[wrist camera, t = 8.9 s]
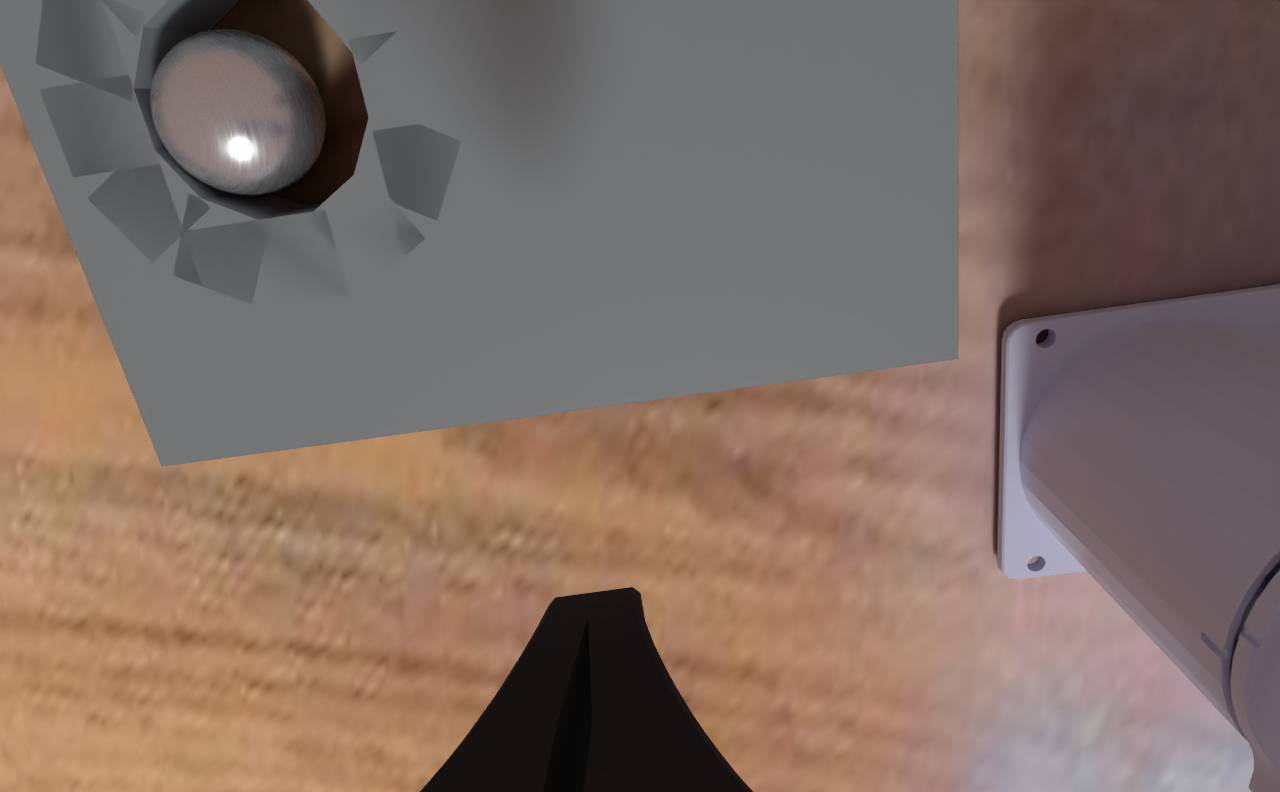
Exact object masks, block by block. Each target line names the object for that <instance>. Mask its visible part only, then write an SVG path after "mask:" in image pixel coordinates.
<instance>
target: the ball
mask: <svg viewBox="0 0 1280 792" xmlns="http://www.w3.org/2000/svg"><path fill="white" fill-rule="evenodd" d="M150 105H151V114H152V119H153V122H154V125H155V128H156V131H157V133H158V135H159V137H160V140H161V141H162V143H163V145H164V146H165V148H166V149H167V151H168V152H169V154H170V155H171V156H172V157H173V158H174V159H175V160H176V162H177V163H178V164H179V165H180V166H181V167H182V168H183V169H185V170H186V171H187V172H188V173H190V174H191V175H192V176H194V177H195V178H197V179H198V180H200V181H202V182H203V183H205V184H207V185H209V186H212V187H214V188H216V189H219V190H222V191H225V192H230V193H235V194H240V195H261V194H268V193H272V192H276V191H279V190H281V189H284V188H286V187H288V186H290V185H292V184H294V183H295V182H297V181H298V180H299V179H301V178H302V177H303V176H304V175H305V174H306V173H307V172H308V171H309V170H310V169H311V167H312V166H313V165H314V163H315V162H316V160H317V158H318V156H319V154H320V152H321V149H322V146H323V143H324V137H325V131H326V120H325V111H324V106H323V102H322V99H321V96H320V93H319V91H318V89H317V87H316V85H315V83H314V81H313V79H312V78H311V76H310V75H309V74H308V72H307V71H306V69H305V68H304V67H303V66H302V65H301V63H300V62H299V61H298V60H297V59H296V58H295V57H293V56H292V55H291V54H290V53H289V52H287V51H286V50H285V49H284V48H282V47H281V46H279V45H278V44H276V43H274V42H272V41H271V40H269V39H267V38H264V37H262V36H259V35H257V34H254V33H250V32H246V31H242V30H234V29H216V30H208V31H204V32H200V33H197V34H194V35H192V36H190V37H188V38H185V39H184V40H182V41H181V42H179V43H178V44H177V45H175V46H174V47H173V48H172V49H171V50H170V51H169V52H168V53H167V54H166V55H165V56H164V58H163V59H162V61H161V62H160V64H159V65H158V68H157V70H156V72H155V75H154V77H153V81H152V86H151V93H150Z"/></svg>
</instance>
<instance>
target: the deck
mask: <svg viewBox="0 0 1280 792" xmlns="http://www.w3.org/2000/svg"><path fill="white" fill-rule="evenodd" d="M238 1H239V0H0V64H1V67H2V69H3V72H4V74H5V77H6V79H7V82H8V84H9V87H10V89H11V92H12V94H13V97H14V99H15V102H16V104H17V107H18V109H19V112H20V114H21V117H22V119H23V122H24V124H25V127H26V129H27V132H28V134H29V137H30V139H31V142H32V144H33V147H34V149H35V152H36V154H37V157H38V159H39V162H40V164H41V167H42V169H43V172H44V174H45V177H46V179H47V182H48V184H49V187H50V189H51V191H52V194H53V196H54V199H55V201H56V204H57V206H58V209H59V211H60V214H61V216H62V219H63V221H64V224H65V226H66V229H67V231H68V234H69V236H70V239H71V241H72V244H73V246H74V249H75V251H76V254H77V256H78V259H79V261H80V264H81V266H82V269H83V271H84V274H85V276H86V279H87V281H88V284H89V286H90V289H91V291H92V294H93V296H94V299H95V301H96V304H97V306H98V309H99V311H100V314H101V316H102V319H103V321H104V324H105V326H106V329H107V331H108V334H109V336H110V339H111V341H112V344H113V346H114V348H115V351H116V353H117V356H118V358H119V361H120V363H121V366H122V368H123V371H124V373H125V376H126V378H127V381H128V383H129V386H130V388H131V391H132V393H133V396H134V398H135V401H136V403H137V406H138V408H139V411H140V413H141V416H142V418H143V421H144V423H145V426H146V428H147V431H148V433H149V436H150V438H151V441H152V443H153V446H154V448H155V451H156V453H157V456H158V458H159V461H160V463H161V466H169V465H176V464H184V463H191V462H198V461H206V460H213V459H221V458H228V457H235V456H243V455H250V454H258V453H265V452H272V451H280V450H287V449H295V448H302V447H309V446H317V445H324V444H332V443H339V442H347V441H354V440H361V439H369V438H376V437H384V436H391V435H398V434H406V433H413V432H421V431H428V430H435V429H443V428H450V427H458V426H465V425H472V424H480V423H487V422H495V421H502V420H509V419H517V418H524V417H532V416H539V415H546V414H554V413H561V412H569V411H576V410H583V409H591V408H598V407H606V406H613V405H620V404H628V403H635V402H643V401H650V400H657V399H665V398H672V397H680V396H687V395H694V394H702V393H709V392H717V391H724V390H731V389H739V388H746V387H754V386H761V385H768V384H776V383H783V382H791V381H798V380H806V379H813V378H820V377H828V376H835V375H843V374H850V373H857V372H865V371H872V370H880V369H887V368H894V367H902V366H909V365H917V364H924V363H931V362H939V361H946V360H954V359H958V0H308V1H309V2H310V4H311V5H312V6H313V7H314V8H315V10H316V11H317V12H318V13H319V14H320V16H321V17H322V18H323V19H324V20H325V21H326V23H327V24H328V25H329V26H330V27H331V29H332V30H333V31H334V32H335V33H336V34H337V36H338V37H339V38H340V39H341V40H342V42H343V43H344V44H345V45H346V46H347V48H348V49H349V50H350V51H351V52H352V54H353V58H354V62H355V65H356V69H357V73H358V77H359V81H360V85H361V89H362V93H363V97H364V101H365V105H366V109H367V113H368V117H369V118H368V122H367V126H366V130H365V134H364V137H363V141H362V145H361V149H360V153H359V157H358V161H357V164H356V168H355V172H354V175H353V176H352V177H351V178H350V179H349V180H348V181H346V182H345V183H344V184H343V185H342V186H341V187H340V188H339V189H338V190H337V191H335V192H334V193H333V194H332V195H331V196H330V197H329V198H328V199H327V200H326V201H324V202H322V203H315V204H308V205H300V204H298V203H295V202H292V201H290V200H287V199H285V198H282V197H279V196H277V195H274V194H272V193H268V194H261V195H240V194H235V193H230V192H225V191H222V190H219V189H216V188H214V187H212V186H209V185H207V184H205V183H203V182H202V181H200V180H198V179H197V178H195V177H194V176H192V175H191V174H190V173H188V172H187V171H186V170H185V169H183V168H182V167H181V166H180V165H179V164H178V163H177V162H176V160H175V159H174V158H173V157H172V156H171V155H170V154H169V152H168V151H167V149H166V148H165V146H164V145H163V143H162V141H161V140H160V137H159V135H158V133H157V131H156V128H155V125H154V122H153V119H152V114H151V105H150V93H151V86H152V81H153V77H154V75H155V72H156V70H157V68H158V65H159V64H160V62H161V61H162V59H163V58H164V56H165V55H166V54H167V53H168V52H169V51H170V50H171V49H172V48H173V47H174V46H175V45H177V44H178V43H179V42H181V41H182V40H184V39H185V38H188V37H190V36H192V35H194V34H197V33H200V32H204V31H208V30H211V29H212V28H213V27H214V26H215V25H216V24H217V23H218V22H219V21H220V20H221V19H222V18H223V17H224V16H225V15H226V14H227V13H228V12H229V11H230V10H231V9H232V8H233V7H234V6H235V5H236V4H237V2H238Z"/></svg>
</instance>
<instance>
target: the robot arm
mask: <svg viewBox="0 0 1280 792" xmlns="http://www.w3.org/2000/svg"><path fill="white" fill-rule="evenodd" d="M1045 329H1048V331H1049V334H1048V337H1047V339H1046V340H1045V341H1044V342H1042V343H1039V344H1036V337H1037V335H1038V333H1039V332H1040V331H1042V330H1045ZM1036 556H1039V558H1038V560H1037V561H1036V562H1035V563H1032V564H1028V561H1029V560H1030V559H1031V558H1033V557H1036ZM997 563H998V567H999V568H1000V570H1001V571H1002V572H1003V573H1004V575H1005V576H1006V577H1008V578H1011V579H1024V578H1033V577H1041V576H1049V575H1057V574H1066V573H1074V572H1082V571H1087V572H1088V573H1089V574H1090V575H1091V576H1092V577H1093V578H1094V579H1095V580H1096V581H1097V582H1098V583H1099V584H1100V585H1101V586H1102V587H1103V589H1104V590H1105V591H1106V592H1107V593H1108V594H1109V595H1110V596H1111V597H1112V598H1113V599H1114V600H1115V601H1116V602H1117V603H1118V604H1119V606H1120V607H1121V608H1122V609H1123V610H1124V611H1125V612H1126V613H1127V614H1128V615H1129V616H1130V617H1131V618H1132V619H1133V620H1134V621H1135V623H1136V624H1137V625H1138V626H1139V627H1140V628H1141V629H1142V630H1143V631H1144V632H1145V633H1146V634H1147V635H1148V636H1149V637H1150V638H1151V639H1152V641H1153V642H1154V643H1155V644H1156V645H1157V646H1158V647H1159V648H1160V649H1161V650H1162V651H1163V652H1164V653H1165V654H1166V655H1167V656H1168V658H1169V659H1170V660H1171V661H1172V662H1173V663H1174V664H1175V665H1176V666H1177V667H1178V668H1179V669H1180V670H1181V671H1182V672H1183V673H1184V675H1185V676H1186V677H1187V678H1188V679H1189V680H1190V681H1191V682H1192V683H1193V684H1194V685H1195V686H1196V687H1197V688H1198V689H1199V690H1200V692H1201V693H1202V694H1203V695H1204V696H1205V697H1206V698H1207V699H1208V700H1209V701H1210V702H1211V703H1212V704H1213V705H1214V706H1215V707H1216V709H1217V710H1218V711H1219V712H1220V713H1221V714H1222V715H1223V716H1224V717H1225V718H1226V719H1227V720H1228V721H1229V722H1230V723H1231V724H1232V725H1233V727H1234V728H1235V729H1236V730H1237V731H1238V732H1239V733H1240V734H1241V735H1242V736H1243V737H1244V738H1245V739H1246V740H1247V741H1248V743H1249V745H1250V747H1251V749H1252V751H1253V756H1254V771H1253V775H1252V778H1251V781H1250V784H1249V789H1250V790H1251V791H1252V792H1280V284H1277V285H1270V286H1262V287H1255V288H1248V289H1241V290H1233V291H1226V292H1219V293H1211V294H1204V295H1197V296H1189V297H1182V298H1175V299H1168V300H1160V301H1153V302H1146V303H1138V304H1131V305H1124V306H1116V307H1109V308H1102V309H1095V310H1087V311H1080V312H1073V313H1065V314H1058V315H1051V316H1043V317H1036V318H1029V319H1022V320H1018V321H1015V322H1013V323H1012V324H1010V325H1009V326H1008V327H1007V328H1006V330H1005V331H1004V333H1003V337H1002V353H1001V401H1000V450H999V498H998V546H997ZM420 792H753V791H752V790H751V789H750V788H749V787H748V786H747V785H746V784H745V783H744V781H743V780H742V779H741V778H740V777H739V776H738V774H737V773H736V772H735V771H734V769H733V768H732V767H731V766H730V765H729V763H728V762H727V761H726V760H725V758H724V757H723V756H722V755H721V753H720V752H719V751H718V749H717V748H716V747H715V745H714V744H713V743H712V741H711V740H710V739H709V737H708V736H707V735H706V733H705V732H704V730H703V729H702V727H701V726H700V725H699V723H698V722H697V720H696V719H695V717H694V716H693V714H692V712H691V711H690V709H689V708H688V706H687V704H686V703H685V701H684V700H683V698H682V696H681V695H680V693H679V691H678V690H677V688H676V686H675V684H674V683H673V681H672V679H671V677H670V675H669V673H668V671H667V670H666V668H665V666H664V664H663V662H662V660H661V658H660V656H659V654H658V652H657V649H656V647H655V645H654V643H653V640H652V638H651V635H650V633H649V630H648V627H647V625H646V622H645V617H644V611H643V606H642V600H641V594H640V592H638V591H637V590H636V589H634V588H633V587H630V588H623V589H615V590H608V591H601V592H593V593H586V594H579V595H571V596H564V597H556V598H555V599H554V600H553V601H552V602H551V603H550V605H549V606H548V608H547V610H546V612H545V614H544V616H543V618H542V619H541V621H540V623H539V625H538V627H537V628H536V630H535V632H534V634H533V636H532V637H531V639H530V641H529V642H528V644H527V646H526V648H525V649H524V651H523V653H522V654H521V656H520V658H519V659H518V661H517V662H516V664H515V666H514V667H513V669H512V670H511V672H510V674H509V675H508V677H507V678H506V680H505V681H504V683H503V685H502V686H501V688H500V689H499V691H498V692H497V694H496V695H495V697H494V698H493V700H492V701H491V702H490V704H489V705H488V707H487V708H486V709H485V711H484V712H483V714H482V715H481V716H480V718H479V719H478V721H477V722H476V723H475V725H474V726H473V727H472V729H471V730H470V732H469V733H468V734H467V736H466V737H465V738H464V740H463V741H462V742H461V743H460V745H459V746H458V747H457V749H456V750H455V751H454V752H453V754H452V755H451V756H450V757H449V759H448V760H447V761H446V762H445V763H444V765H443V766H442V767H441V768H440V769H439V770H438V772H437V773H436V774H435V775H434V776H433V777H432V779H431V780H430V781H429V782H428V783H427V784H426V786H425V787H424V788H423V789H422V790H421V791H420Z"/></svg>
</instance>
